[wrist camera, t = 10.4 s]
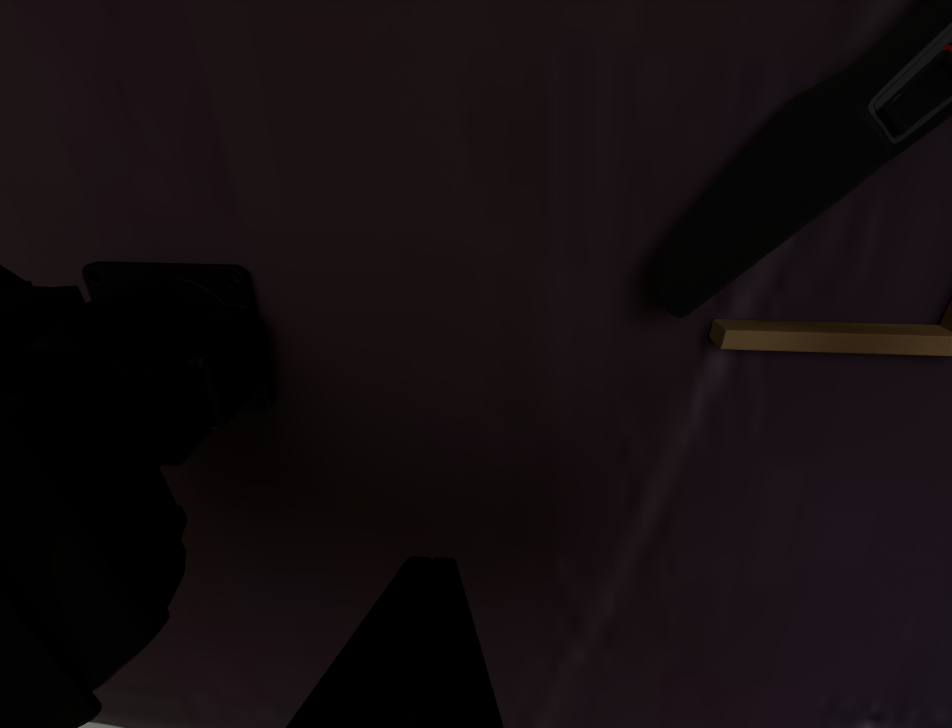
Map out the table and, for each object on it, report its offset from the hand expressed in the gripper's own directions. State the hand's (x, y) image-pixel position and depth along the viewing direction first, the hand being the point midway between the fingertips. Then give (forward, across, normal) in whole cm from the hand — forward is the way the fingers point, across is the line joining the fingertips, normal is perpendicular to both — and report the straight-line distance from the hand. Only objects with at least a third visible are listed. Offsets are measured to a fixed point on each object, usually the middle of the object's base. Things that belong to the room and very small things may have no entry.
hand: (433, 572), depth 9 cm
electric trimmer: (+12, -12, -8) cm, 19 cm away
